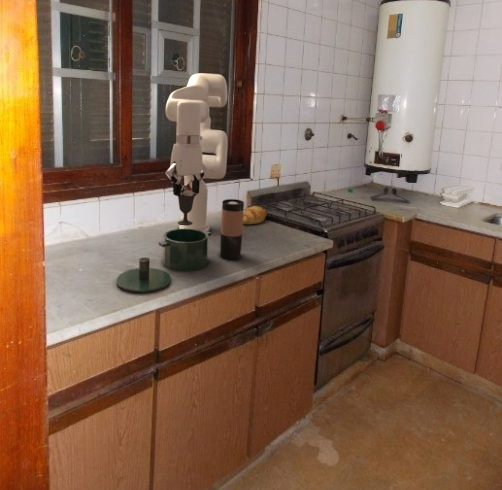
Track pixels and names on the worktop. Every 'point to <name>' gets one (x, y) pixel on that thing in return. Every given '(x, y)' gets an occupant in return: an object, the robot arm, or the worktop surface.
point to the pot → (185, 249)
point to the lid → (143, 278)
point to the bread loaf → (254, 215)
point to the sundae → (186, 203)
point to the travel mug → (231, 229)
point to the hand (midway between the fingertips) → (186, 193)
